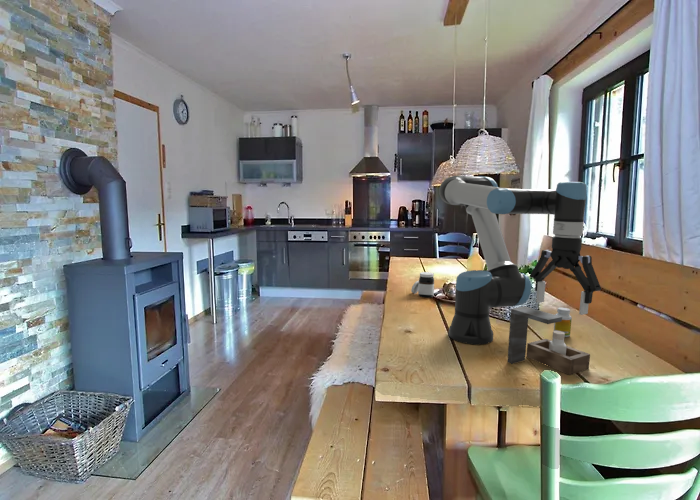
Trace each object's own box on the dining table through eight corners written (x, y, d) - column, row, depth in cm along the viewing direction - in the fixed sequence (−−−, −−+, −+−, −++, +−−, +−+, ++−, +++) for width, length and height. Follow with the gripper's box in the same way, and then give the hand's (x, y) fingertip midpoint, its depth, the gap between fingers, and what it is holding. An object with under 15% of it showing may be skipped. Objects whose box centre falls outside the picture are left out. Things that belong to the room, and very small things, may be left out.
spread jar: (433, 299, 191) (434, 275, 190) (410, 297, 194) (410, 274, 192) (434, 293, 203) (434, 271, 201) (412, 291, 206) (412, 270, 204)
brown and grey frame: (507, 362, 118) (511, 308, 115) (545, 352, 126) (549, 301, 124) (550, 381, 105) (555, 322, 103) (588, 368, 114) (594, 313, 111)
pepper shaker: (550, 364, 116) (553, 333, 115) (547, 359, 120) (550, 329, 119) (565, 366, 115) (568, 335, 114) (562, 361, 119) (564, 330, 118)
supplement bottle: (572, 337, 139) (574, 311, 138) (555, 336, 140) (558, 310, 139) (567, 332, 144) (569, 307, 143) (551, 331, 145) (553, 306, 144)
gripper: (521, 232, 122) (516, 299, 125) (604, 241, 100) (596, 321, 103) (537, 232, 125) (532, 296, 128) (621, 240, 103) (612, 317, 106)
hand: (560, 307), depth 116 cm, fingers open, 13 cm apart
